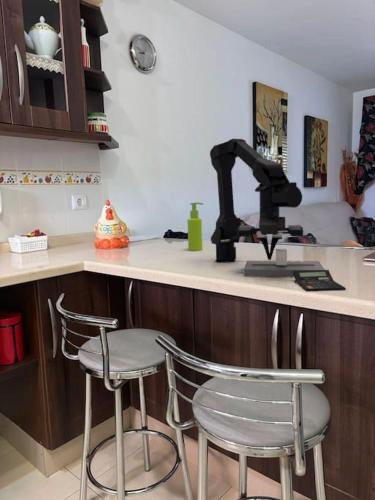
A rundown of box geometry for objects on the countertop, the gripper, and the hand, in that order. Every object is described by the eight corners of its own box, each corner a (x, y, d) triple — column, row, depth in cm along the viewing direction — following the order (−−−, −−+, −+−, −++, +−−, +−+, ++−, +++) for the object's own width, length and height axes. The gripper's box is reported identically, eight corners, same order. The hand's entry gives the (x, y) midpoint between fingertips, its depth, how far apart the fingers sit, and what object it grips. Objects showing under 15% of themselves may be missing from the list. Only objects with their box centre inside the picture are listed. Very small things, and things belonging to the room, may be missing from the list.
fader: (275, 265, 111) (276, 251, 110) (275, 261, 117) (275, 248, 116) (286, 265, 110) (287, 251, 110) (286, 261, 116) (286, 248, 116)
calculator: (306, 292, 91) (306, 280, 91) (292, 281, 103) (292, 270, 102) (345, 291, 91) (345, 278, 91) (327, 280, 103) (327, 269, 102)
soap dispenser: (203, 251, 159) (202, 202, 156) (187, 251, 160) (185, 203, 157) (205, 249, 165) (204, 202, 162) (189, 249, 166) (188, 202, 163)
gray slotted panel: (244, 276, 109) (243, 268, 109) (246, 266, 123) (246, 260, 123) (324, 277, 105) (325, 269, 104) (318, 267, 118) (318, 260, 118)
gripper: (235, 209, 106) (235, 264, 108) (305, 207, 102) (304, 265, 104) (238, 207, 117) (238, 257, 119) (301, 206, 113) (301, 258, 115)
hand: (269, 259), depth 114 cm, fingers closed
